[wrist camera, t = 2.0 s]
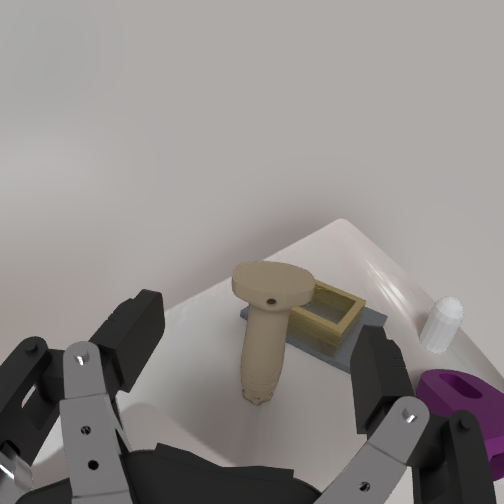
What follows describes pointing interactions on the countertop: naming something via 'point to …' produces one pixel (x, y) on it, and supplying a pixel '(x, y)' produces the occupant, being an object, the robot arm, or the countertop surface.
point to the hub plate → (329, 324)
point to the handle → (267, 320)
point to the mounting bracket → (468, 407)
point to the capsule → (442, 324)
